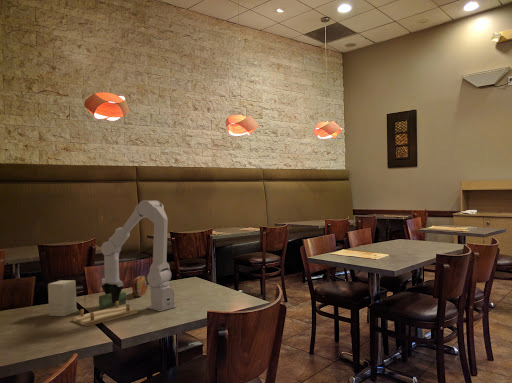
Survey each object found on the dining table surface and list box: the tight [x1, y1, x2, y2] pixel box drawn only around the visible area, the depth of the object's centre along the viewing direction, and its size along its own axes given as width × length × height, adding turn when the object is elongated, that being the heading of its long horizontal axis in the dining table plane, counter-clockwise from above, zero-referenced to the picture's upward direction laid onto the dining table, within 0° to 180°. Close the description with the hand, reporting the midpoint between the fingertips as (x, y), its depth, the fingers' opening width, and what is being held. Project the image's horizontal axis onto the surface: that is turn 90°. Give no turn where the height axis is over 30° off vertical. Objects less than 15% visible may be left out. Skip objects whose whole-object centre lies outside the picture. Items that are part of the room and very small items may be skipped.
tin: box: [131, 275, 148, 298], centre depth 184 cm, size 15×3×8 cm, turn 179°
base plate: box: [71, 301, 138, 327], centre depth 149 cm, size 12×20×4 cm, turn 139°
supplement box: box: [47, 279, 77, 317], centre depth 156 cm, size 7×7×13 cm
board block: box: [98, 290, 127, 310], centre depth 166 cm, size 4×10×5 cm, turn 139°
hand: (112, 301), depth 165 cm, fingers closed on board block, 4 cm apart
